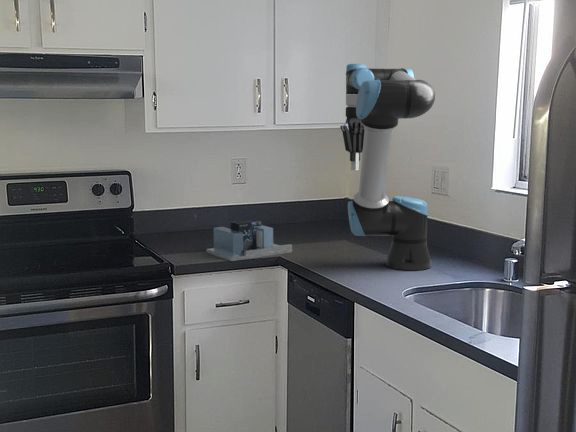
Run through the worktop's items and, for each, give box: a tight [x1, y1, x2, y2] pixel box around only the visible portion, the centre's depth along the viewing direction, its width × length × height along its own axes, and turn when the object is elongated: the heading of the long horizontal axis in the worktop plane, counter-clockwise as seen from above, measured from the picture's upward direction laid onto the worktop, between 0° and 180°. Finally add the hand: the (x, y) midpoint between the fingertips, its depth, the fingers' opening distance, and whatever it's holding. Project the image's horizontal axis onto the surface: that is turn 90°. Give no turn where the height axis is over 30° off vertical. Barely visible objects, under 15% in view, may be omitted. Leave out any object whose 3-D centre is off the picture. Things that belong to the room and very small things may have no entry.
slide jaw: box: [254, 220, 274, 249], centre depth 275 cm, size 14×4×10 cm, turn 35°
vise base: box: [206, 226, 293, 262], centre depth 273 cm, size 18×26×9 cm
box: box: [230, 219, 256, 251], centre depth 271 cm, size 8×6×11 cm
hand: (354, 169), depth 279 cm, fingers closed
